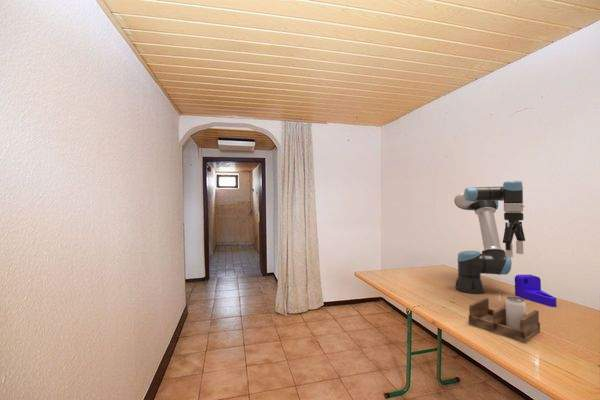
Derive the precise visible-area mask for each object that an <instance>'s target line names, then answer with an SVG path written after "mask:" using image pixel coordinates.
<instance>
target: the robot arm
mask: <svg viewBox="0 0 600 400" xmlns="http://www.w3.org/2000/svg"><path fill="white" fill-rule="evenodd" d="M523 197H524V187H523V182H522V180H521V181H520V180H509V181H503V183H502V186H484V187H483V186H478V187H476V186H470V187H466V188H465V189H464V191H463V193H461V192H460V193H459V194H457V195H456V196H455V197H454V204H455V206H456V207H457V208H458V209H461V210H464V211H474V214H475V215H476V216H477V217H478V222H479V228H480V234H481V241H482V246H483V250H482V251H481V252H480V250H464V251H460V252H458V254H457V278H456V281H455V284H454V289H455V288H456V289H455V290H457V291H459V292H462V293H467V294H473V295H474V294H476V295H478V294H479V295H480V294H484V293H485V286H484V284H483V283H484V282H483V281H482V277H481V274H485V275H498V276H501V275H502V276H503V275H505V276H506V275H508V274H509V273H510V272H511V270H512V265H513V264H512V258H514V251H513V250H514V249H513V247H514V246H513V243H512V242H513V239H514V237H515V238H516V241H515V248H516V250H515V253H516V254H517V255H524V242H526V236H525V233H524V228H523V221H524V213H523V212H524V208H525V205H524V198H523ZM500 201H501V202H503V211H504V213H503V219H504V220H505V221H507V222H505V226H504V231H503V239H502V244H504V247H505V248H504V249H503V248H502V247H501V246H502V245H501V241H500V237H499V232H498V231H499V230H498V227H497V222H496V219H495V213H496V212H497V210H498V209H499V202H500Z"/></svg>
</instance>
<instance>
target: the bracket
mask: <svg viewBox="0 0 600 400" xmlns="http://www.w3.org/2000/svg"><path fill="white" fill-rule="evenodd" d="M514 295H515V296H514V297H518V298H521V299H523V300H527V301H530V302H534V303H537V304H540V305H544V306H547V307H550V308H556V306H557V297H555V296H554V295H552V294H550V293H549V292H548V293H547V292H546V291H544V290H542V282H541V278H540V277H539V276H536V275H533V274H516V275H515V276H514Z"/></svg>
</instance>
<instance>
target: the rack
mask: <svg viewBox="0 0 600 400" xmlns="http://www.w3.org/2000/svg"><path fill="white" fill-rule="evenodd" d="M489 305H490V300H489V298H488V297H485V298H482V299H480V300H478V301H475V302H473V303H471V304H469V305H468V308H469V311H468V312H469V314H468V324H469V325H471V326H474V327H477V328H480V329H484V330H486V331H489V332H492V333H496V334H497V335H501V336H504V337H507V338H510V339H514V340H516V341H520V342H522V343H525V344H526V343H528V342H529V341H530V340H532V339H533V338H534V337H535V336H537V334H539V333H540V332H541V322H540V321H539V317H540V316H539V310H536V309H533V310H531V312H529V313H527V314H526V316H525V317H523V318H521V319H520V330H517V329H514V328H511V327H507V326H506V304H505V305H503V306H501V307H499V308H497V309H492V308H490V307H489Z"/></svg>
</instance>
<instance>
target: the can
mask: <svg viewBox="0 0 600 400" xmlns="http://www.w3.org/2000/svg"><path fill="white" fill-rule="evenodd" d="M505 305H506V326H507V327H511V328H514V329H517V330H520V319H521V318H523V317H525V316H526V315H527V306H526V305H527V304H526V303H525V299H523V298H520V297H518V296H506V300H505Z"/></svg>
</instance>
